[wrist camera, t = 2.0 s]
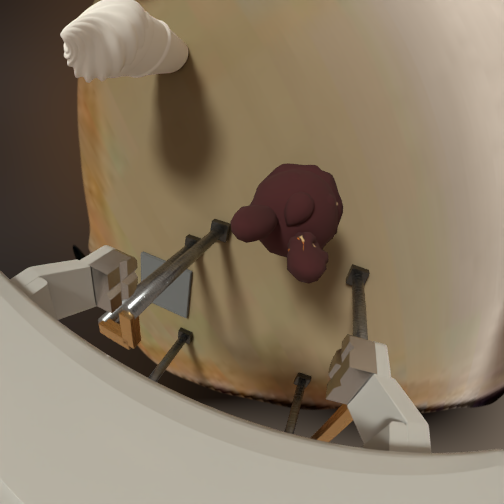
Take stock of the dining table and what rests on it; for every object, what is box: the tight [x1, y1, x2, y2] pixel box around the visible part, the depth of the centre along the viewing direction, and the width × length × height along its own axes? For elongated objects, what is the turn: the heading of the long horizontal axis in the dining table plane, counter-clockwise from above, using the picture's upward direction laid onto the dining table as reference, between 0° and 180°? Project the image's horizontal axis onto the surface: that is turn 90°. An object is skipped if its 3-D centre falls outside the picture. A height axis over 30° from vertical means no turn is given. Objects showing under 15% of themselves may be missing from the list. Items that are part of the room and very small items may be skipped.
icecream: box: [231, 164, 343, 283], centre depth 20 cm, size 7×7×15 cm
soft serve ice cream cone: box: [60, 0, 188, 83], centre depth 17 cm, size 8×8×16 cm
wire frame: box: [98, 219, 369, 442], centre depth 27 cm, size 21×21×17 cm
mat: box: [141, 252, 192, 318], centre depth 37 cm, size 8×8×1 cm
